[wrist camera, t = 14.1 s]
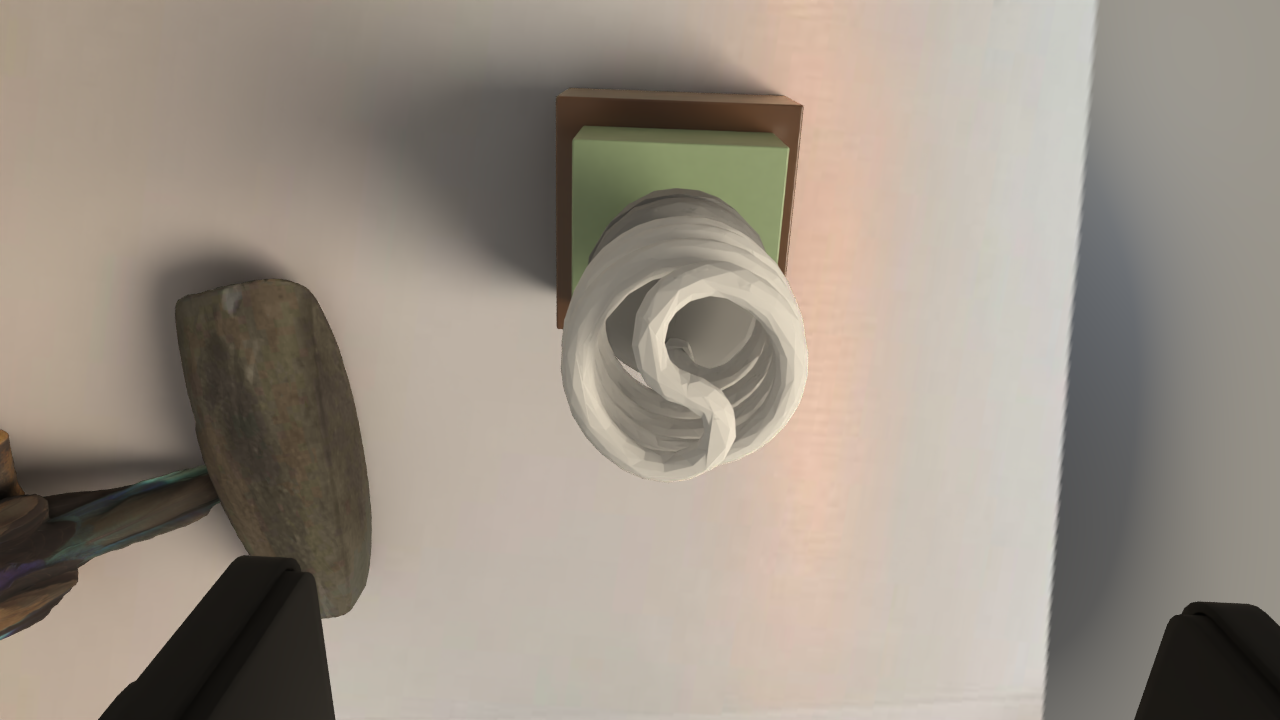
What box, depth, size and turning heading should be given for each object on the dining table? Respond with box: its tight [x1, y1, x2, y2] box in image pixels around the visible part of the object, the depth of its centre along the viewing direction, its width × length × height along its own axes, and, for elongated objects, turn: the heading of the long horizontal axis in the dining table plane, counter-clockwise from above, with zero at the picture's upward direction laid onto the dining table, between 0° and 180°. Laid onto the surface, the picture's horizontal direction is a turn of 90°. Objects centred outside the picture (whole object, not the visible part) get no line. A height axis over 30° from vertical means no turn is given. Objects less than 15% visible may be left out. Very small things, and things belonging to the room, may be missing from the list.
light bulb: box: [561, 188, 808, 482], centre depth 22 cm, size 6×6×12 cm
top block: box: [572, 126, 789, 295], centre depth 30 cm, size 7×7×4 cm
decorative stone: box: [175, 279, 372, 619], centre depth 38 cm, size 17×6×4 cm, turn 7°
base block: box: [556, 88, 804, 329], centre depth 33 cm, size 9×9×4 cm
